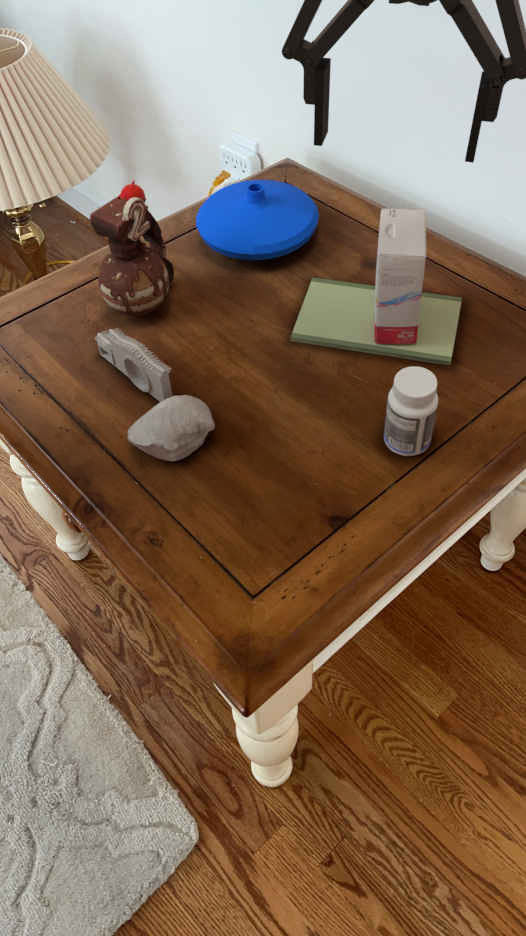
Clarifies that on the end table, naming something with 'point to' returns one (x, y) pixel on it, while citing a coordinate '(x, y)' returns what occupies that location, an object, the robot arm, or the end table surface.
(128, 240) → the grenade
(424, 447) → the pill bottle
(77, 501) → the end table surface
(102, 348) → the garden wall model
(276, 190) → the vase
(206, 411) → the grey stone
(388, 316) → the ink box
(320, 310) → the mat
